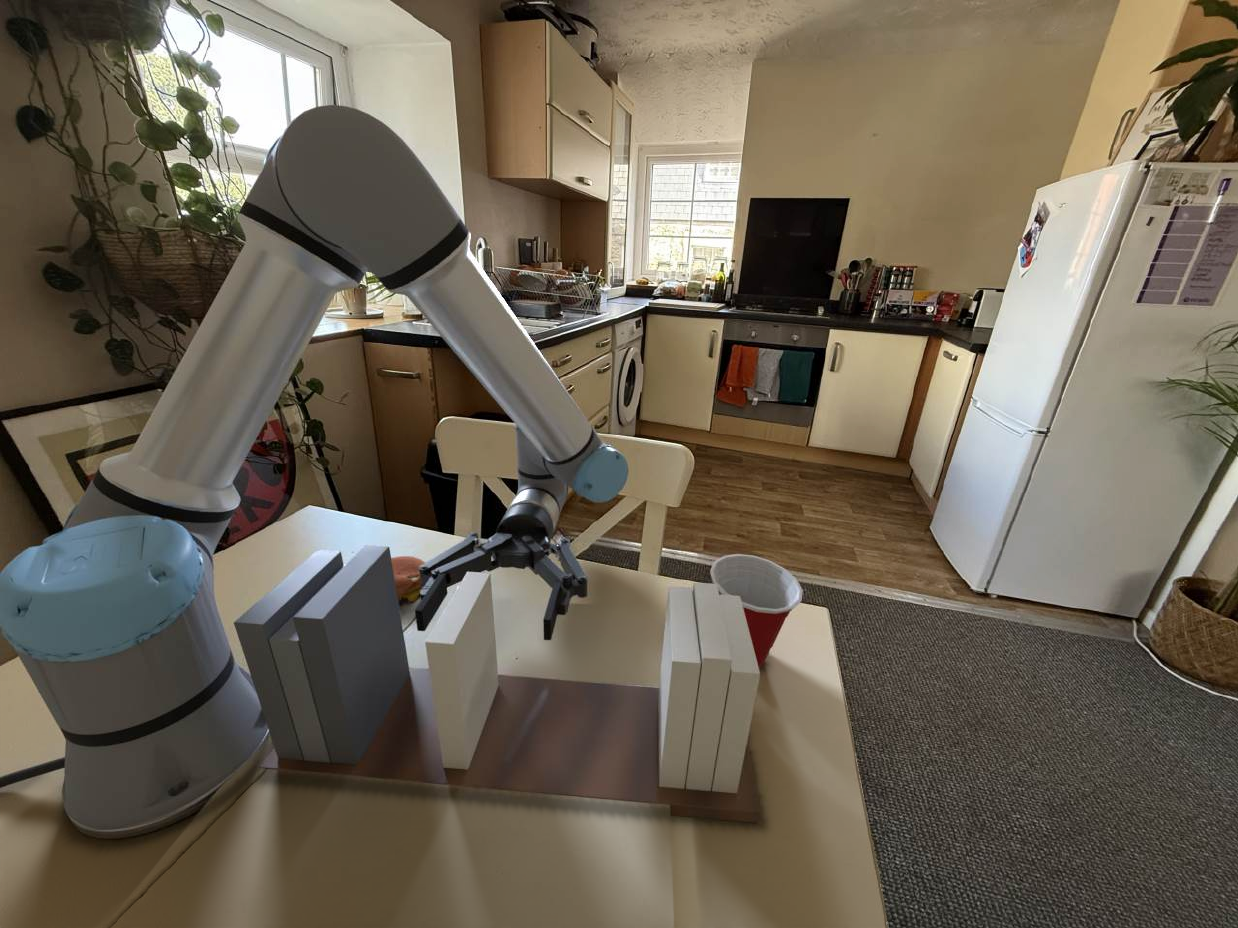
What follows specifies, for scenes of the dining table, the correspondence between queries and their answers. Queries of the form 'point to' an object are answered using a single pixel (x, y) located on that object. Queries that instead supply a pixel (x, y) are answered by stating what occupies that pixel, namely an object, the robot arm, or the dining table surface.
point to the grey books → (327, 654)
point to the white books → (705, 690)
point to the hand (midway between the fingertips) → (482, 625)
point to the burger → (407, 578)
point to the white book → (463, 668)
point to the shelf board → (541, 747)
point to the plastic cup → (758, 595)
